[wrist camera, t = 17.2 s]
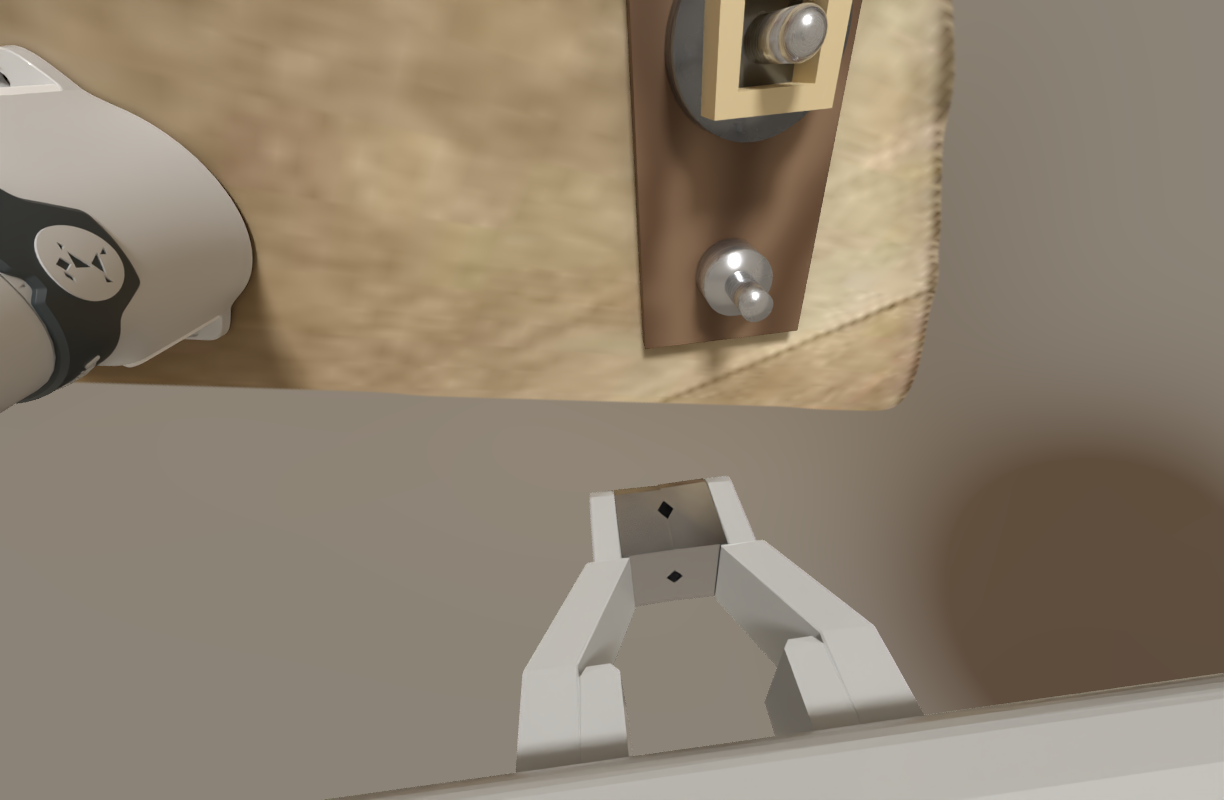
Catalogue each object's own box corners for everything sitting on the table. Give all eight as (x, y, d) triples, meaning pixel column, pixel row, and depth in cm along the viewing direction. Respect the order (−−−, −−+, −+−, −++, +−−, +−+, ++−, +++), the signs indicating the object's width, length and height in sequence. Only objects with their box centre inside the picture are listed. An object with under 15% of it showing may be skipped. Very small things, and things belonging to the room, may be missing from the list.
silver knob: (694, 303, 37) (718, 344, 32) (696, 242, 34) (723, 276, 28) (754, 296, 37) (788, 336, 32) (762, 234, 34) (801, 266, 29)
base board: (643, 340, 41) (645, 349, 39) (621, -110, 24) (624, -119, 22) (790, 322, 41) (797, 330, 40) (874, -136, 24) (890, -146, 23)
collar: (700, 116, 26) (714, 120, 24) (705, -37, 22) (723, -50, 20) (807, 104, 26) (832, 107, 24) (832, -50, 22) (864, -64, 20)
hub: (665, 144, 30) (698, 168, 23) (663, -67, 24) (707, -126, 16) (809, 128, 30) (887, 147, 23) (843, -86, 24) (966, -152, 17)
